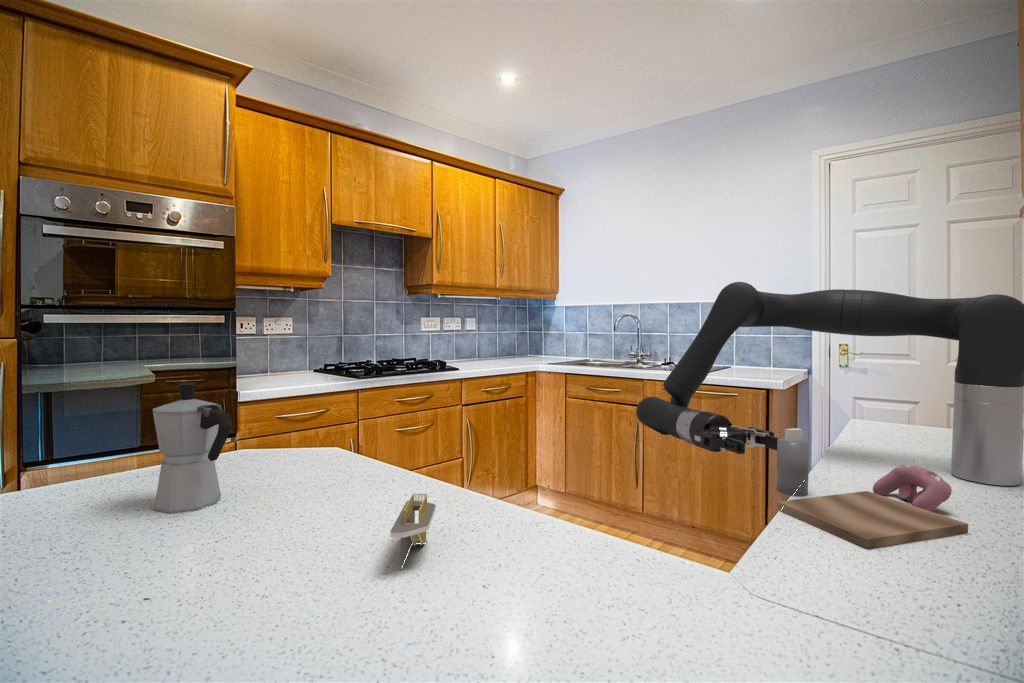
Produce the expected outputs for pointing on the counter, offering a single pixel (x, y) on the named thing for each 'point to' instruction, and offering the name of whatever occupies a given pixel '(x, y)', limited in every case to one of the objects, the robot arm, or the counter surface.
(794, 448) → the grey cylinder with tab
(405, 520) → the platform
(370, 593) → the counter surface
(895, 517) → the walnut board
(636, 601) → the counter surface
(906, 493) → the video game controller
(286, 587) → the counter surface
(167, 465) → the coffee maker
